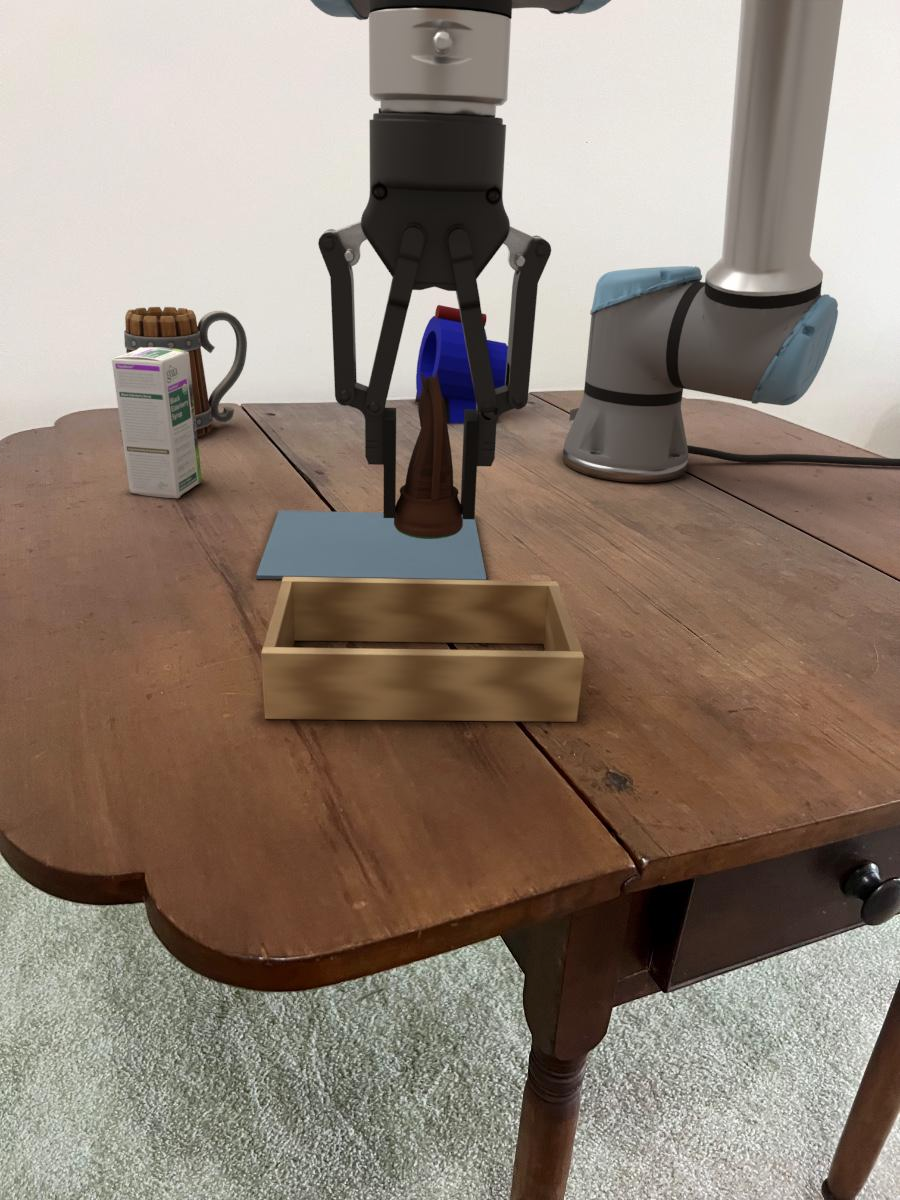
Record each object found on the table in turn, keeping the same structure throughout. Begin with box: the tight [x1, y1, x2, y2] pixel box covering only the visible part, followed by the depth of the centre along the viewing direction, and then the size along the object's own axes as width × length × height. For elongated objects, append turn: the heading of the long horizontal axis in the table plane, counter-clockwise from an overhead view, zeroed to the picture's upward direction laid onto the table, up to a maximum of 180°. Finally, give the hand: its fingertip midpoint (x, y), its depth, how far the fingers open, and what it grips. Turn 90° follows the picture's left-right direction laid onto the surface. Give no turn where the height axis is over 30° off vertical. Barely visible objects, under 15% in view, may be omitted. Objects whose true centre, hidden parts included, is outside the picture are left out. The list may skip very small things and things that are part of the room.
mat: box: [255, 509, 488, 581], centre depth 87 cm, size 20×16×1 cm
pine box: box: [260, 577, 585, 723], centre depth 65 cm, size 21×12×5 cm, turn 93°
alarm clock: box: [415, 304, 508, 424], centre depth 131 cm, size 12×12×15 cm
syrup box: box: [111, 347, 203, 499], centre depth 96 cm, size 6×6×14 cm
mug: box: [123, 306, 248, 439], centre depth 116 cm, size 16×11×15 cm
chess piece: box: [394, 373, 463, 539], centre depth 59 cm, size 5×5×10 cm
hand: (428, 510), depth 60 cm, fingers closed on chess piece, 4 cm apart
